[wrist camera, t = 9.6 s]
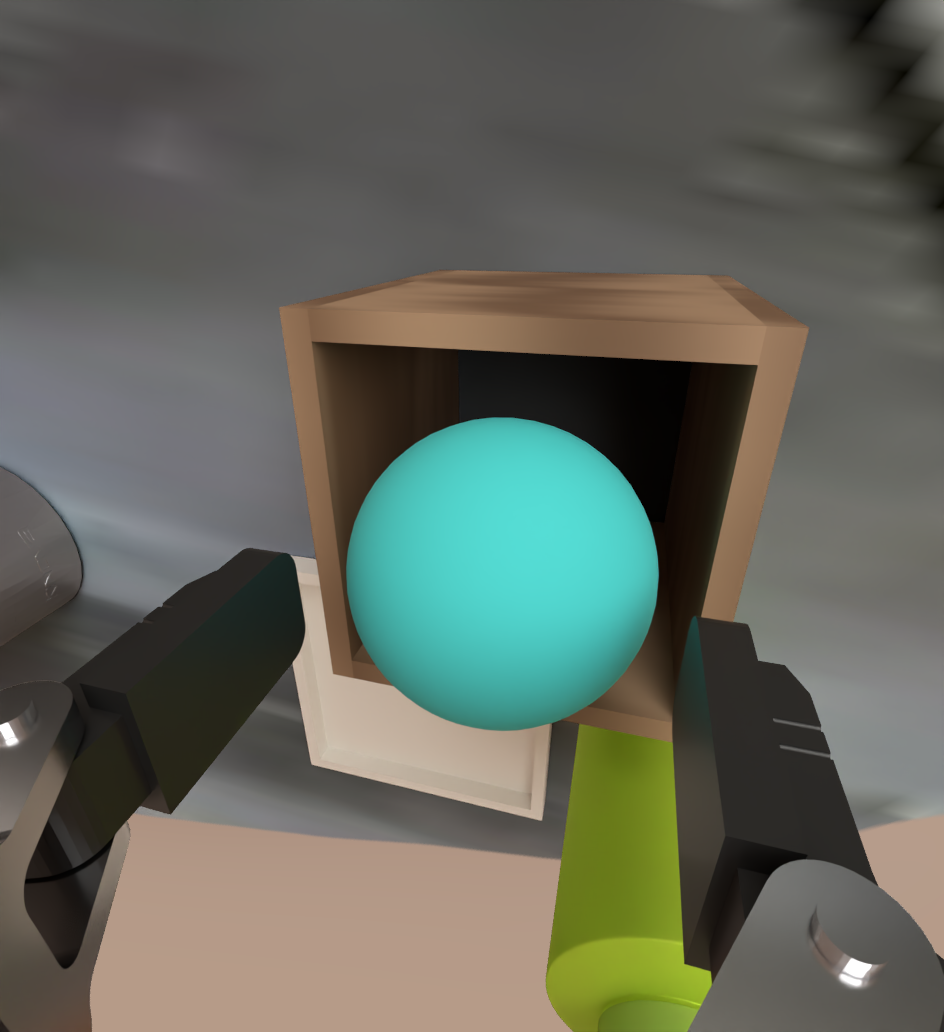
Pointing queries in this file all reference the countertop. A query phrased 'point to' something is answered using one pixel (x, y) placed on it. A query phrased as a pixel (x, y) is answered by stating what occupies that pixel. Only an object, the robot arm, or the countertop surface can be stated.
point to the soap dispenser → (621, 894)
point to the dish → (408, 731)
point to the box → (564, 331)
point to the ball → (502, 574)
